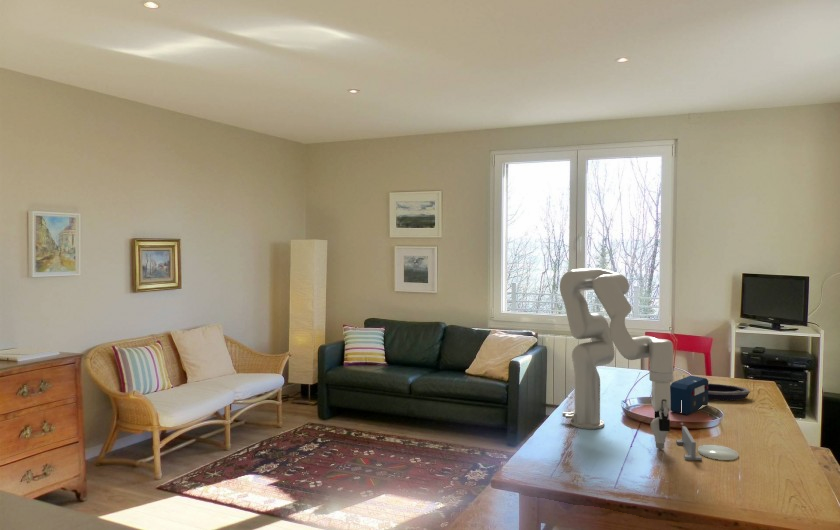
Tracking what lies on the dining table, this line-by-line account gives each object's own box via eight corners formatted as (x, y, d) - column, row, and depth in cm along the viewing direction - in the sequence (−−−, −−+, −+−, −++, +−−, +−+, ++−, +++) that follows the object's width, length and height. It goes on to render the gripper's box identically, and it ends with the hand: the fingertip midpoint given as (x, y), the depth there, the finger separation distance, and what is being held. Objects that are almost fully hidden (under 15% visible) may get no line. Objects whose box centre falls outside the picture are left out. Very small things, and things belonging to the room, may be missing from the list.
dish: (753, 404, 251) (754, 393, 251) (675, 399, 260) (675, 388, 260) (745, 394, 266) (745, 383, 266) (671, 390, 275) (671, 379, 275)
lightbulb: (671, 453, 197) (671, 421, 196) (652, 452, 198) (652, 420, 198) (667, 446, 203) (667, 415, 202) (648, 445, 204) (649, 414, 204)
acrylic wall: (685, 459, 191) (685, 441, 191) (676, 442, 207) (676, 425, 207) (701, 461, 190) (702, 442, 190) (691, 443, 206) (691, 426, 205)
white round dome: (702, 458, 192) (702, 456, 192) (694, 445, 204) (694, 443, 204) (742, 461, 189) (742, 459, 189) (732, 448, 201) (732, 446, 201)
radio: (688, 417, 235) (689, 367, 233) (667, 412, 241) (668, 364, 240) (711, 406, 248) (712, 359, 247) (690, 402, 255) (691, 356, 254)
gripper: (646, 370, 208) (646, 418, 209) (653, 381, 192) (654, 433, 192) (668, 370, 207) (669, 419, 207) (678, 382, 190) (678, 435, 190)
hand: (662, 426), depth 200 cm, fingers open, 9 cm apart
